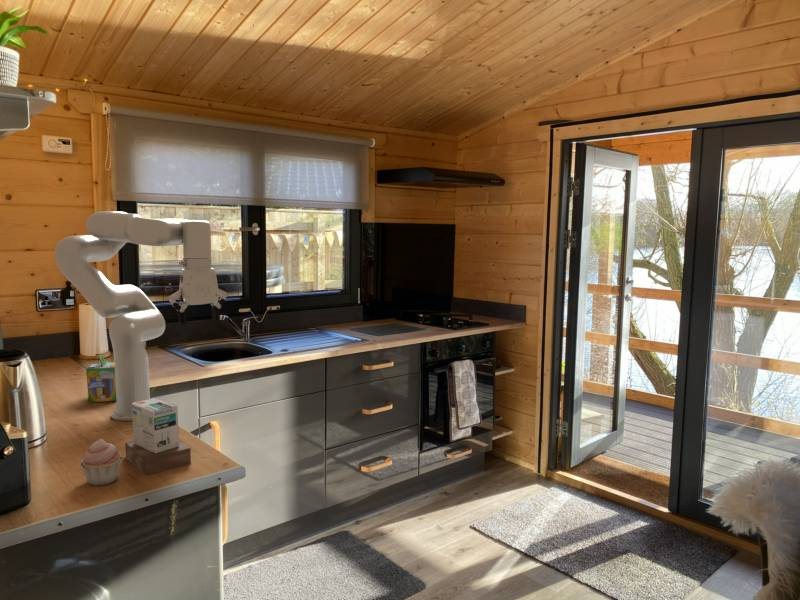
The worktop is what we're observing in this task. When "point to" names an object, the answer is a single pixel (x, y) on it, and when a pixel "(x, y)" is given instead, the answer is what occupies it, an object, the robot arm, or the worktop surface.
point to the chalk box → (101, 381)
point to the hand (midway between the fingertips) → (199, 323)
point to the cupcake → (101, 463)
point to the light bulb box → (155, 425)
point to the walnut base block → (157, 457)
